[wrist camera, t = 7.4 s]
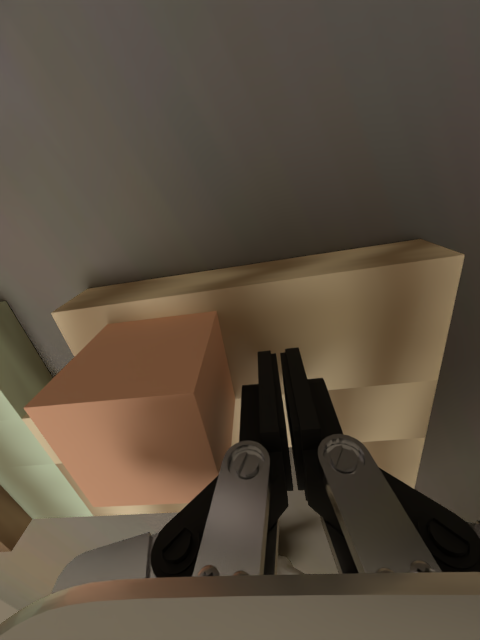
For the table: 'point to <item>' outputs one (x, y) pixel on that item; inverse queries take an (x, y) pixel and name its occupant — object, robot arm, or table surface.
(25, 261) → the table surface
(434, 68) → the table surface
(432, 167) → the table surface
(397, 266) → the board
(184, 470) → the block
